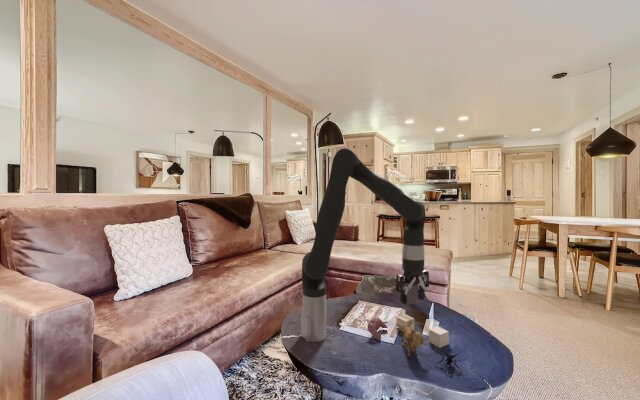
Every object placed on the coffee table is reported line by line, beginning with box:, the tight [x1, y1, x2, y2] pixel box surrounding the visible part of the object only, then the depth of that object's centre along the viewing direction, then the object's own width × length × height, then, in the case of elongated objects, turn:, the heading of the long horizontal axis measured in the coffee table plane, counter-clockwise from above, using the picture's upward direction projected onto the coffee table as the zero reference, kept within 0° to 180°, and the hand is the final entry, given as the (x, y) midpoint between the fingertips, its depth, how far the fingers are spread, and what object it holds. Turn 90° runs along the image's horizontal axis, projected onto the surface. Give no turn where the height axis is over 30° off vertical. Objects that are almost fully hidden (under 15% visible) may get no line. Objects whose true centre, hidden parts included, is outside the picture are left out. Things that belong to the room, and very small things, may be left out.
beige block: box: [428, 325, 450, 349], centre depth 110 cm, size 5×5×5 cm
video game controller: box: [367, 317, 389, 341], centre depth 117 cm, size 10×5×7 cm, turn 149°
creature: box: [435, 347, 463, 376], centre depth 94 cm, size 8×5×8 cm
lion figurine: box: [401, 327, 426, 357], centre depth 105 cm, size 15×5×9 cm, turn 8°
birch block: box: [396, 314, 415, 333], centre depth 120 cm, size 5×5×5 cm
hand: (412, 301), depth 104 cm, fingers open, 8 cm apart
